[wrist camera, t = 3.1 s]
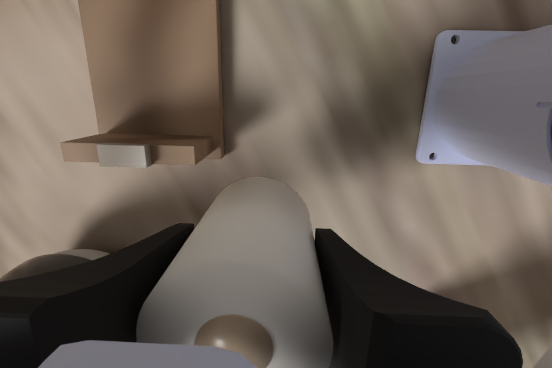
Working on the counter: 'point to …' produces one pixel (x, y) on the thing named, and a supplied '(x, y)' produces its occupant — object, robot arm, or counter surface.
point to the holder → (152, 82)
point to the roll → (246, 282)
